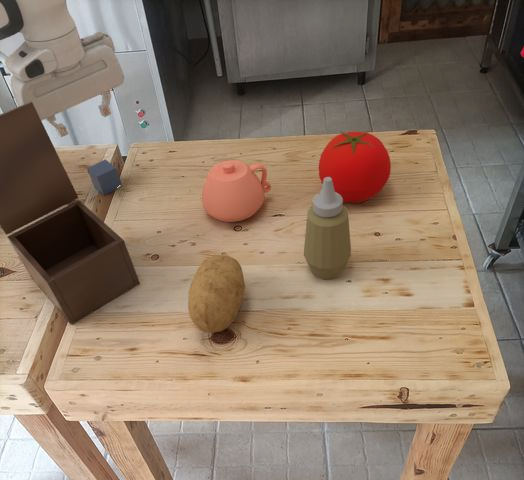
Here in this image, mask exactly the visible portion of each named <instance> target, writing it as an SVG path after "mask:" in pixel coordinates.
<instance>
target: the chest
mask: <svg viewBox="0 0 524 480" xmlns="http://www.w3.org/2000/svg"><path fill="white" fill-rule="evenodd" d="M7 239H8V241H9V243H10V244H11V246H12V248H13V250H14V251H15V252H16V254H17V256H18V257H19V260H20V262H22V264H23V266H24V268H25V269H26V271H27V273H28V275H29V277H30V278H31V279H32V280H33V282H34V283H35V284H36V286H38V288H39V289H40V290H41V292H43V294H44V295H45V296H46V297H47V298H48V299H49V301H50V302H51V303H52V304H53V306H54V307H55V308H56V309H57V310H58V312H59V313H60V314H61V315H62V316H63V317H64V319H65V320H66V321H67V322H68V323H69V324H70V325H71V326H72V325H73V324H75V323H77V322H79V321H80V320H82V319H84V318H85V317H87V316H89V315H90V314H92V313H93V312H95V311H97V310H99V309H100V308H102V307H104V306H105V305H107V304H109V303H110V302H112V301H114V300H116V299H117V298H119V297H120V296H122V295H124V294H125V293H126V292H128V291H130V290H132V289H133V288H135V287H137V286H139V285H140V284H141V282H140V280H139V276H138V275H137V272H136V271H137V270H136V269H135V266H134V263H133V261H132V258H131V256H130V252H129V249H128V248H127V245H126V242H125V240H124V239H123V238H122V237H121V236H120V235H119V234H118V233H117V232H115V231H114V230H113V229H112V228H111V227H109V225H107V223H106V222H105V221H103V220H102V219H101V218H99V217H98V215H96V214H95V213H94V212H93V211H92V210H91V209H90V208H88V207H87V206H86V204H84V203H83V202H82V201H81V200H80V199H77V200H75V201H73V202H71V203H69V204H67V205H65V206H63V207H61V208H59V209H57V210H55V211H53V212H51V213H49V214H47V215H45V216H43V217H41V218H39V219H38V220H37V221H34V222H33V223H30V224H28V225H26V226H24V227H22V228H20V229H18V230H16V231H14V232H12V234H11V233H10V234H8V236H7Z"/></svg>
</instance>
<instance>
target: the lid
mask: <svg viewBox="0 0 524 480" xmlns="http://www.w3.org/2000/svg"><path fill="white" fill-rule="evenodd" d="M77 200H79V196H78V193H77V191H76V190H75V187H74V186H73V183H72V181H71V179H70V177H69V176H68V173H67V171H66V168H65V167H64V164H63V162H62V161H61V159H60V156H59V155H58V152H57V150H56V148H55V146H54V144H53V142H52V140H51V137H50V136H49V134H48V132H47V129H46V127H45V126H44V123H43V120H42V121H41V119H40V117H39V115H38V113H37V111H36V109H35V107H34V105H33V103H32V102H28V103H26V104H23V105H21V106H19V107H18V106H16V107H14V108H11V109H10V110H7V111H4V112H2V113H0V228H1V231H3V233H4V234H5V235H10V234H11V233H14V232H16V231H18V230H20V229H22V228H24V227H26V226H28V225H30V224H32V222H33V223H34V222H36V220H37V221H38V220H40V219H42V218H43V217H45V216H47V215H49V214H51V213H53V212H55V211H57V210H59V209H61V208H63V207H65V206H67V205H69V204H71V203H73V202H75V201H77Z"/></svg>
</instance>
